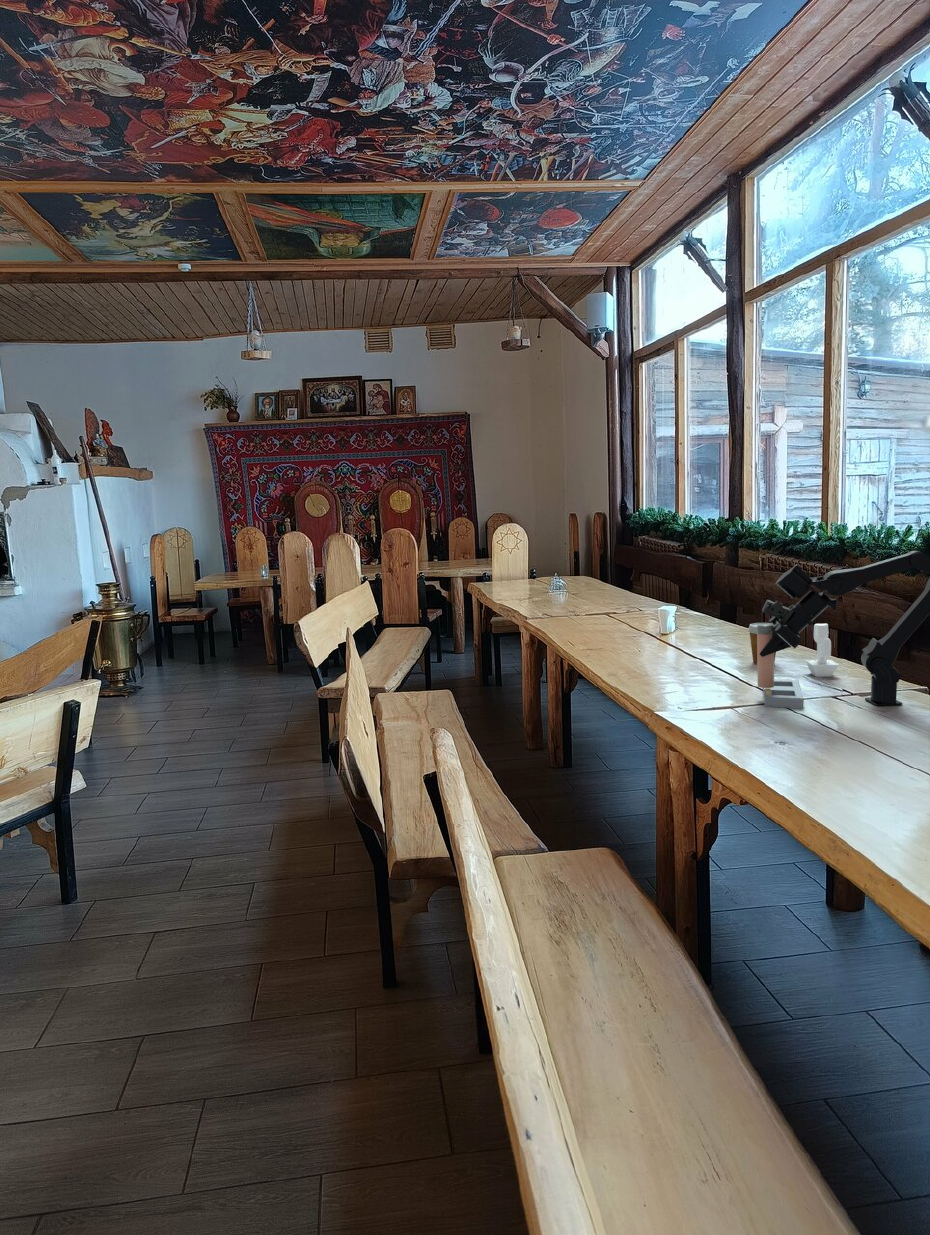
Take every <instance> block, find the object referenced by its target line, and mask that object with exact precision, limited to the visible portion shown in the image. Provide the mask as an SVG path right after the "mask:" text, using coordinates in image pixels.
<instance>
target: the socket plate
mask: <svg viewBox="0 0 930 1235" xmlns="http://www.w3.org/2000/svg"><path fill="white" fill-rule="evenodd" d="M800 684H801V683H800V680H799V679H780V678H779V679H775V678H774V687H772V688H762V690H763V699H764V700H763V703H764V708H765V707H766V708H791V709H804V707H805V706H804V704H805V702H804V701H805V700H804V699H805V698H804V694H803V691H802V688H801V685H800Z"/></svg>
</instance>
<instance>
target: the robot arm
mask: <svg viewBox="0 0 930 1235" xmlns="http://www.w3.org/2000/svg"><path fill="white" fill-rule="evenodd" d="M915 569H917V570H919V571H921V572H923V573H925V574H928V575H930V556H928V555H926V554H925V553H923V552H922V551H918V550H911V551H909V552H907V553H904V554H901V555H897V556H894V557H892V558H887V559H885V560H881V561H877V562H875V563H871V564H868V565H864V566H860V567H855V568H844V569H836V570H831V571H829V572H826V573H825V574H824V575H823V576H816V577H815V576H814V577H810V576H809V575H808V574H807V573H806V572H804V571H803V570H802V568H801V567H800V566H798V564H794V566H793V567H791V568H790V569H789V570H787V571H785V572H783V574H781V575H780V577H778V579H777V580H776V582H775V585H777V586H778V587H779V588H780V589H781V590H783V591H784V592H785V593H786V594H787V595H788V596H789V597H790V598H791V599H794V598H798V599H800V598H801V599H800V600H799V601H798V602H796V603H795V605H794V604H791V605H790V606H789V607H786V606H784V605H783V603H782V602H779V601H778V600H776V601H772V600H770V599H766V600H765V603H764V604H763V607H762V608H761V612H762V613H764V614H765V615H767V616H768V615H770V616H772V617H771V618H770V619H769V620H768V621H769V623H773V624H774V630H773V629H772V638H771V639H770V640H769V642H768V643H767V644H766V645H765V647H764V648H763V649H762V651H761V652H760V655H761V656H762V657H764V656H766V655H769V654H772V653H775V652H776V653H777V652H780V651H782V650H783V651H784V650H786V649H790V648H793V649H796V648H797V647H798V646H800V644H801V637H800V636H801V632H802V631H803V630H804V629H806V627H808V626H812V625H813V621H814V620H815V619H816V618H817V617H818V616H819V615H820V614H822V613H823V612H824V611H825V610H827V608H828V607H830V608H831V609H832V610H833V611H835V612H836V611H837V610H838V608H837V606H838V605H837V603H838V599H836V598H831V597H829V596H828V595H827V594H826V593H825V592H824V591H826V592H827V593H828V594H829V595H831V596H834V597H839V596H843V595H845V594H847V593H850V592H852V591H854V590H856V589H857V588H859V587H861V586H863V585H865V584H867V583H870V582H873V581H876V580H880V579H883V578H884V579H885V578H886V577H887V578H888V577H890V576H894V575H897V574H901V573H904V572H908V571H912V570H915ZM812 585H813V586H814V587H815V588H817V589H818V590H822V591H821V592H818V591H816V590H815V589H814V588H813V587H812ZM809 590H810V591H809ZM929 615H930V577H928V579H927V582H926V585H925V588H924V590H923V591H922V592H921V594H920V595H919V596H918V597H917V598H916V599H915V601H914V602H913V603H912V604H911V606H910V607H909V608H908V609H907V610H906V611H905V613H904V614H903V615H902V616H901V617H900V618H899V620H898V621H897V622H896V623H895V624H894V625H893V626H892V627H891V629H890V630H889V631H888V632H887V633H886V634H885V636H883V637H882V638H880V639H879V640H877V639H876V638H874V637H872V638H871V639H870V641H869V642H868V645H867V646H865V647H864V648H862V650H861V651H862V652H863V653H861V657H860V658H861V659H860V660H861V663H862V666H863V667H864V668H865V669H866V670H867V671H868V672H869V673H870V675H871V678H870V679H871V680H870V681H871V682H870V683H871V684H870V685H871V686H870V696H869V697H867V696H866V697H865V698H864V700H865V701H867V702H869V703H870V704H873V705H874V706H878V707H879V706H901V705H903V704H904V703H903V702H902V701H899V700H897V695H898V694H897V691H898V683H899V682H900V679H901V678H902V674H901V672H899V671H898V669H896V668H895V666H893V665H894V663H895V662H896V660H897V657H898V655H899V652H900V650H901V648H902V646H903V645H904V644H905V643H906V642H907V641H908V639H909V638H910V637H911V636H912V635H913V634H914V632H916V631H917V629H918V628H919V627H920V626H921V624H923V622H924V621H925V620H926V618H927V617H928V616H929ZM770 625H771V624H770Z"/></svg>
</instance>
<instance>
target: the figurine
mask: <svg viewBox="0 0 930 1235" xmlns="http://www.w3.org/2000/svg"><path fill="white" fill-rule="evenodd" d="M829 633H830V632H829V624H828V623H815V624H813V640H814V642H815V643H816V659H804V661H805V663H806V666H807V667H808V670H809V671H810V673H811V675H813V676H815V677H819V678H820V677H833V675H834V674H835V673H836V671H837V669H838V667H839V666H840V664H839V663H837V662H835V661H833V660H832V659H828V658H829V657H831V656H832V641H831V639H830V638H829Z"/></svg>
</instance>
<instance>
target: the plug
mask: <svg viewBox="0 0 930 1235" xmlns="http://www.w3.org/2000/svg"><path fill="white" fill-rule="evenodd" d="M772 629H773V630H774V625H770V624H761V625H757V664H756V665H757V672H756V673H757V688H762V689H763V688H772V687H774V679H775V665H774V664H775V662H774V653H772V654H769V655H766V656H764V657H762V656H761V655H760V652H761V651H762V649H763V648H764V647H765V645H766V644H767V643H768V642H769V640H770V639H771V638H772Z"/></svg>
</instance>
